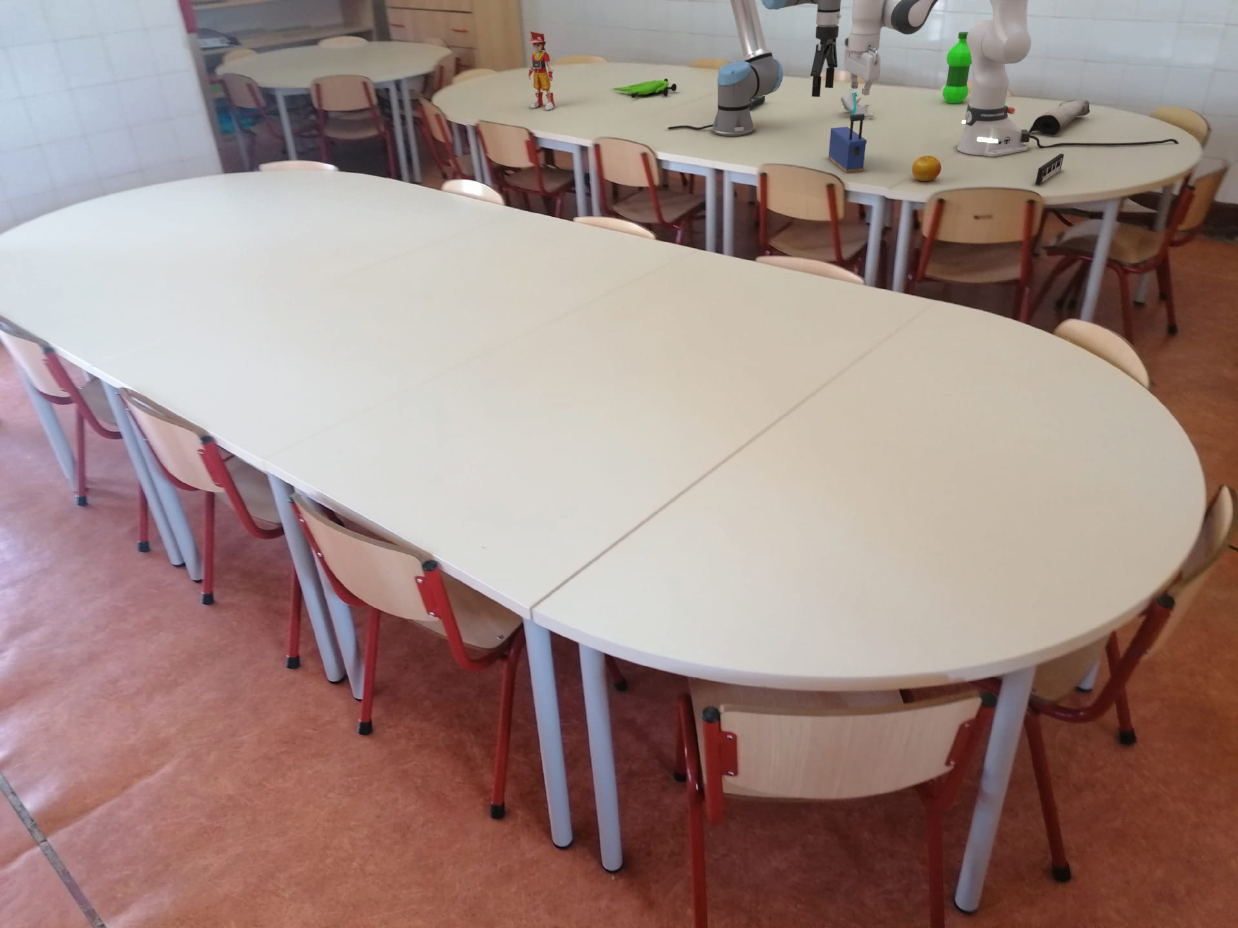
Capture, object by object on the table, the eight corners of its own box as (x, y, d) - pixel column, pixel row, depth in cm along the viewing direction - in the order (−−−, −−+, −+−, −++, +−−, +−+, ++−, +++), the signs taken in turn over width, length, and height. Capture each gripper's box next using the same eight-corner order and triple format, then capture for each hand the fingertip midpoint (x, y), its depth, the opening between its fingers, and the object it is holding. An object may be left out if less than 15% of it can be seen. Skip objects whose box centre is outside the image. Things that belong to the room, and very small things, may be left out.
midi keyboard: (1039, 185, 269) (1043, 168, 266) (1035, 184, 270) (1038, 168, 267) (1060, 170, 279) (1064, 154, 277) (1056, 169, 280) (1060, 153, 277)
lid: (866, 144, 284) (869, 115, 279) (849, 145, 284) (852, 117, 279) (846, 130, 298) (849, 103, 294) (830, 131, 298) (832, 104, 293)
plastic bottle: (973, 101, 354) (984, 32, 339) (955, 106, 349) (966, 36, 335) (952, 97, 361) (962, 29, 346) (934, 102, 356) (944, 33, 342)
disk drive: (750, 111, 360) (765, 102, 370) (750, 104, 358) (765, 95, 368) (726, 109, 364) (742, 100, 375) (726, 102, 363) (742, 93, 373)
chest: (863, 171, 290) (865, 143, 285) (846, 172, 289) (848, 145, 284) (844, 156, 303) (846, 130, 298) (828, 158, 303) (830, 131, 298)
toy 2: (686, 85, 398) (631, 84, 414) (685, 72, 395) (629, 72, 411) (651, 104, 381) (596, 103, 397) (650, 92, 378) (594, 91, 394)
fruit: (905, 171, 275) (922, 148, 272) (907, 173, 283) (923, 151, 280) (928, 186, 274) (945, 163, 271) (929, 188, 282) (946, 166, 279)
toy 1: (525, 109, 381) (517, 32, 364) (534, 104, 388) (527, 28, 371) (550, 110, 377) (543, 32, 360) (559, 105, 384) (553, 28, 367)
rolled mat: (1057, 104, 331) (1081, 87, 323) (1070, 125, 332) (1095, 108, 324) (1024, 126, 314) (1049, 109, 306) (1039, 148, 314) (1064, 131, 306)
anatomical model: (836, 88, 347) (861, 81, 346) (838, 115, 353) (863, 108, 352) (847, 98, 335) (873, 90, 334) (849, 125, 341) (875, 118, 340)
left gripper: (825, 32, 290) (820, 101, 302) (850, 19, 307) (844, 85, 320) (803, 31, 293) (799, 99, 305) (829, 18, 311) (824, 83, 323)
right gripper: (888, 48, 261) (882, 98, 269) (861, 36, 278) (857, 84, 286) (867, 50, 261) (862, 100, 269) (842, 38, 278) (838, 85, 285)
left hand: (822, 92), depth 313 cm, fingers open, 13 cm apart
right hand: (859, 91), depth 278 cm, fingers open, 8 cm apart
